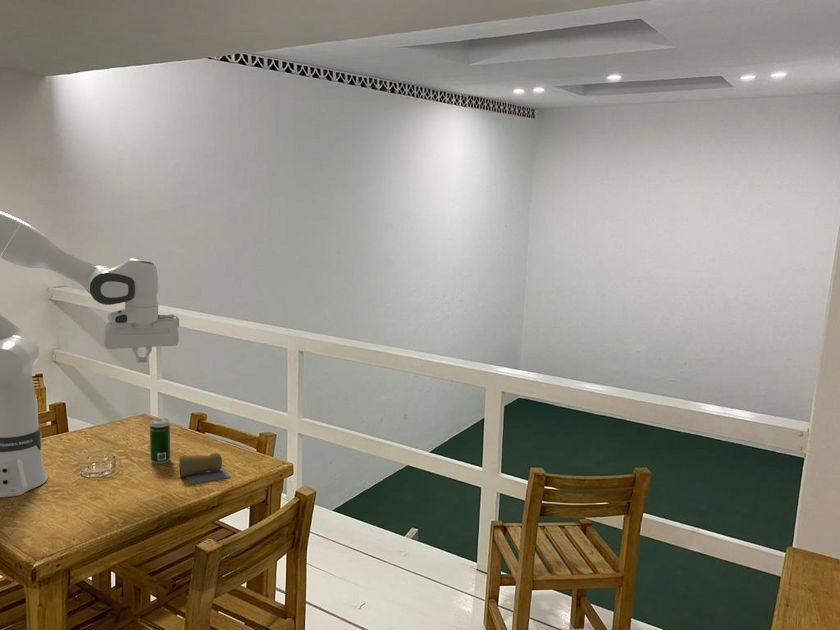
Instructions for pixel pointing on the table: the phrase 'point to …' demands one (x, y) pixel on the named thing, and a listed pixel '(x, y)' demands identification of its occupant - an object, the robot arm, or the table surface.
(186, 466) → the cork
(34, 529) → the table surface
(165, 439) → the beer can
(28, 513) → the table surface
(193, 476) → the mat
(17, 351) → the robot arm
